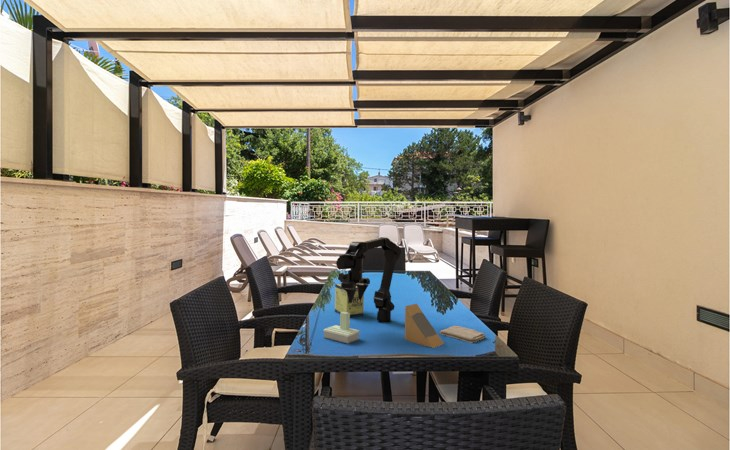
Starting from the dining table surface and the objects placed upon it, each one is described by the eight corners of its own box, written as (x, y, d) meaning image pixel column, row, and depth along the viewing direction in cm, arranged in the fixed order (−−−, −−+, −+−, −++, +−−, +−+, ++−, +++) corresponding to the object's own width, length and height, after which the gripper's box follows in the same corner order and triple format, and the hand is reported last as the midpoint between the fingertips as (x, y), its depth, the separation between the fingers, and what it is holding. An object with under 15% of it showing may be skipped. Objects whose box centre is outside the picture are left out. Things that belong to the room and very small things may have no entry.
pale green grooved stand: (335, 326, 176) (335, 309, 176) (359, 332, 168) (359, 314, 168) (323, 331, 169) (323, 313, 169) (347, 336, 161) (348, 318, 161)
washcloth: (473, 344, 165) (473, 337, 165) (438, 335, 178) (438, 328, 178) (487, 339, 173) (487, 332, 173) (452, 330, 186) (452, 323, 186)
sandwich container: (433, 348, 158) (434, 312, 158) (404, 340, 169) (404, 305, 168) (445, 344, 164) (446, 309, 164) (416, 336, 175) (416, 303, 175)
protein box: (346, 318, 203) (347, 288, 203) (334, 311, 217) (334, 283, 217) (364, 315, 209) (364, 287, 208) (350, 309, 222) (351, 282, 222)
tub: (335, 333, 176) (335, 326, 176) (358, 339, 168) (358, 332, 168) (324, 337, 169) (324, 331, 169) (347, 343, 162) (347, 336, 162)
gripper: (351, 265, 196) (350, 296, 196) (331, 268, 179) (330, 302, 179) (370, 267, 191) (369, 298, 191) (352, 270, 174) (351, 305, 174)
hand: (355, 300), depth 184 cm, fingers open, 9 cm apart
